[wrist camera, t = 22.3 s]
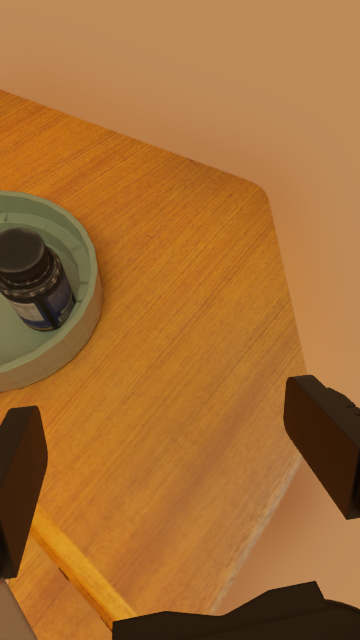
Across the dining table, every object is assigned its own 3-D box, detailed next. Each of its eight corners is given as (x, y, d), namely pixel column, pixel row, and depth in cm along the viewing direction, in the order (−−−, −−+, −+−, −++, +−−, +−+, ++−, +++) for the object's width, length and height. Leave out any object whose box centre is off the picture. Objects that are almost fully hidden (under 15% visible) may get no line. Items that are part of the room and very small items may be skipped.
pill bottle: (64, 277, 41) (38, 210, 31) (86, 318, 39) (66, 261, 29) (12, 299, 39) (-34, 235, 29) (32, 343, 37) (-10, 291, 27)
